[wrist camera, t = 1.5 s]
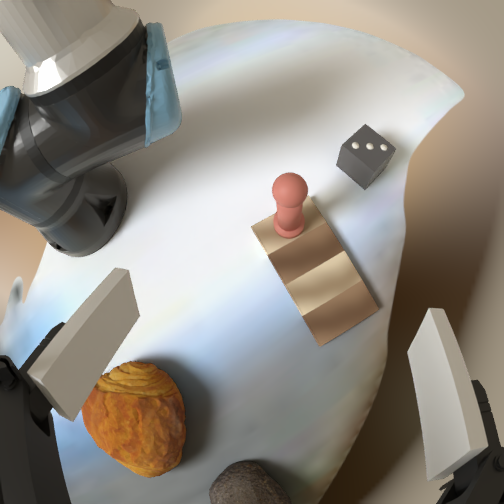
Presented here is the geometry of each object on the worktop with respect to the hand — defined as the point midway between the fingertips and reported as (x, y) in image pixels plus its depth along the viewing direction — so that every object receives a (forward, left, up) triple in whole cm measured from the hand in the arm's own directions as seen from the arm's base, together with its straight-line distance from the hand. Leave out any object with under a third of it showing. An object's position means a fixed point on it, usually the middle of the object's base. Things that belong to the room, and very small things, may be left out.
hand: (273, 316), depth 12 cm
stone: (+18, -13, -23) cm, 32 cm away
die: (-12, +20, -22) cm, 32 cm away
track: (-3, +7, -22) cm, 23 cm away
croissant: (+3, -21, -23) cm, 31 cm away
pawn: (-9, +7, -21) cm, 24 cm away
